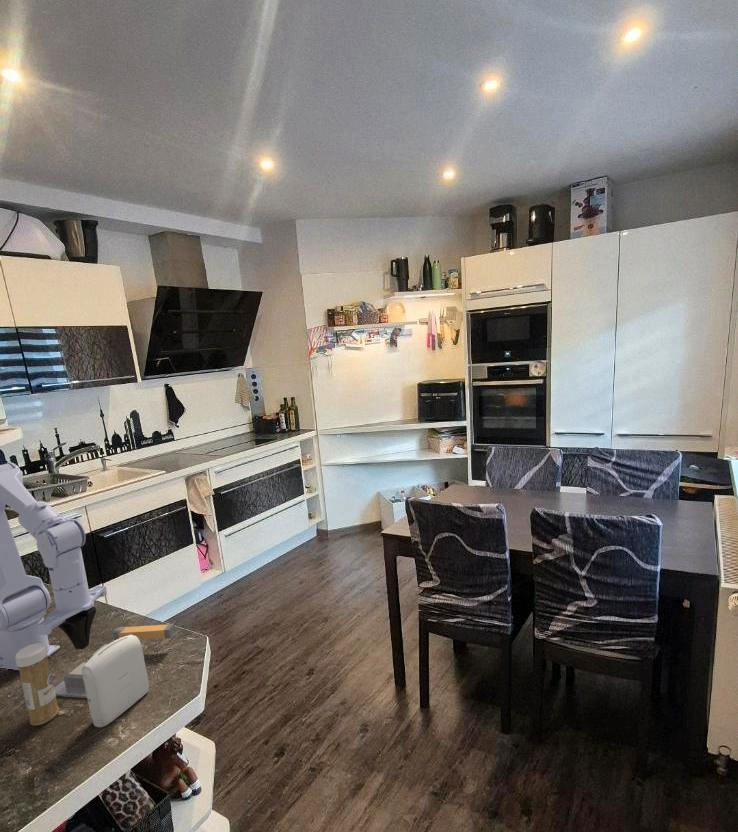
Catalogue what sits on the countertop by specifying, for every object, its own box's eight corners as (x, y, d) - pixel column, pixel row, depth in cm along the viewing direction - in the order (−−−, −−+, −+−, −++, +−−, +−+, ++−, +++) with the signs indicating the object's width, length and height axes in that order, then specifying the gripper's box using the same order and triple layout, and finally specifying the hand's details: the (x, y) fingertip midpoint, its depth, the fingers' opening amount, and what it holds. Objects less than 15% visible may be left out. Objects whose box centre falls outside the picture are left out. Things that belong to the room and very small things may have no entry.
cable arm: (111, 641, 100) (110, 633, 100) (118, 635, 103) (116, 627, 103) (170, 638, 100) (169, 629, 99) (175, 631, 102) (174, 623, 102)
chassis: (48, 695, 89) (45, 681, 89) (108, 645, 104) (106, 633, 104) (89, 698, 87) (86, 684, 87) (144, 647, 102) (142, 635, 102)
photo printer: (103, 731, 79) (90, 665, 77) (87, 724, 81) (74, 660, 79) (153, 690, 88) (143, 630, 86) (139, 685, 90) (128, 626, 88)
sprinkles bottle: (59, 718, 83) (45, 649, 81) (28, 731, 80) (13, 661, 79) (59, 703, 87) (46, 638, 85) (30, 715, 84) (16, 648, 83)
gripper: (54, 603, 82) (68, 672, 84) (114, 566, 96) (125, 626, 98) (22, 602, 84) (36, 670, 85) (86, 566, 98) (97, 625, 99)
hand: (82, 646), depth 92 cm, fingers closed
